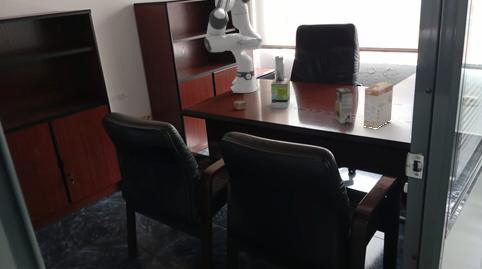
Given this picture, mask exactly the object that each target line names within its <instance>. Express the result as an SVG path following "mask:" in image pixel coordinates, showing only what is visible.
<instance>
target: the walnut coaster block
mask: <svg viewBox="0 0 482 269" xmlns="http://www.w3.org/2000/svg"><path fill="white" fill-rule="evenodd" d="M233 104H234V106H233V107H234V110H235V109H236V110H238V111H241V110H245V109H247V101H244V100H237V101H234V102H233Z"/></svg>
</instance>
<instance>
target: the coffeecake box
mask: <svg viewBox="0 0 482 269" xmlns="http://www.w3.org/2000/svg"><path fill="white" fill-rule="evenodd" d="M393 88H394V83H389V82H383V81H382V82H378V83H375V84H373V85H371V86H368V87H366V88H364V106H363V107H364V108H363V110H364V111H363V127H364V126H366V127H372V128H378V127H379V126H381V125H383V124H385V123H387V122H388V121H390V120H391V121H392V108H393V107H392V106H393V94H394V93H393V92H394V89H393ZM387 124H388V123H387ZM378 129H379V128H378Z"/></svg>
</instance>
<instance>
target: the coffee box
mask: <svg viewBox="0 0 482 269" xmlns="http://www.w3.org/2000/svg"><path fill="white" fill-rule="evenodd" d="M334 97H335V104H334V106H335V107H334V108H335V114H334V117H335V120H337V121H338V123H340V124H346V123H345V122H350V123H353V108H354V91H352V90H351V89H349V87H338V88H335V96H334Z"/></svg>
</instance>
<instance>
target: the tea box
mask: <svg viewBox="0 0 482 269" xmlns="http://www.w3.org/2000/svg"><path fill="white" fill-rule="evenodd" d="M290 80H291V79H290V78H287V77H286V78H285V77H284V81H276V77H275V78H273V80H272V82H271V84H270V87H271V88H270V93H271V99H270V100H271V104H270V106H271V108H275V109H283V108H284V109H287V108H288V107H289V105H290V101H291V85H290V84H291V82H290Z"/></svg>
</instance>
